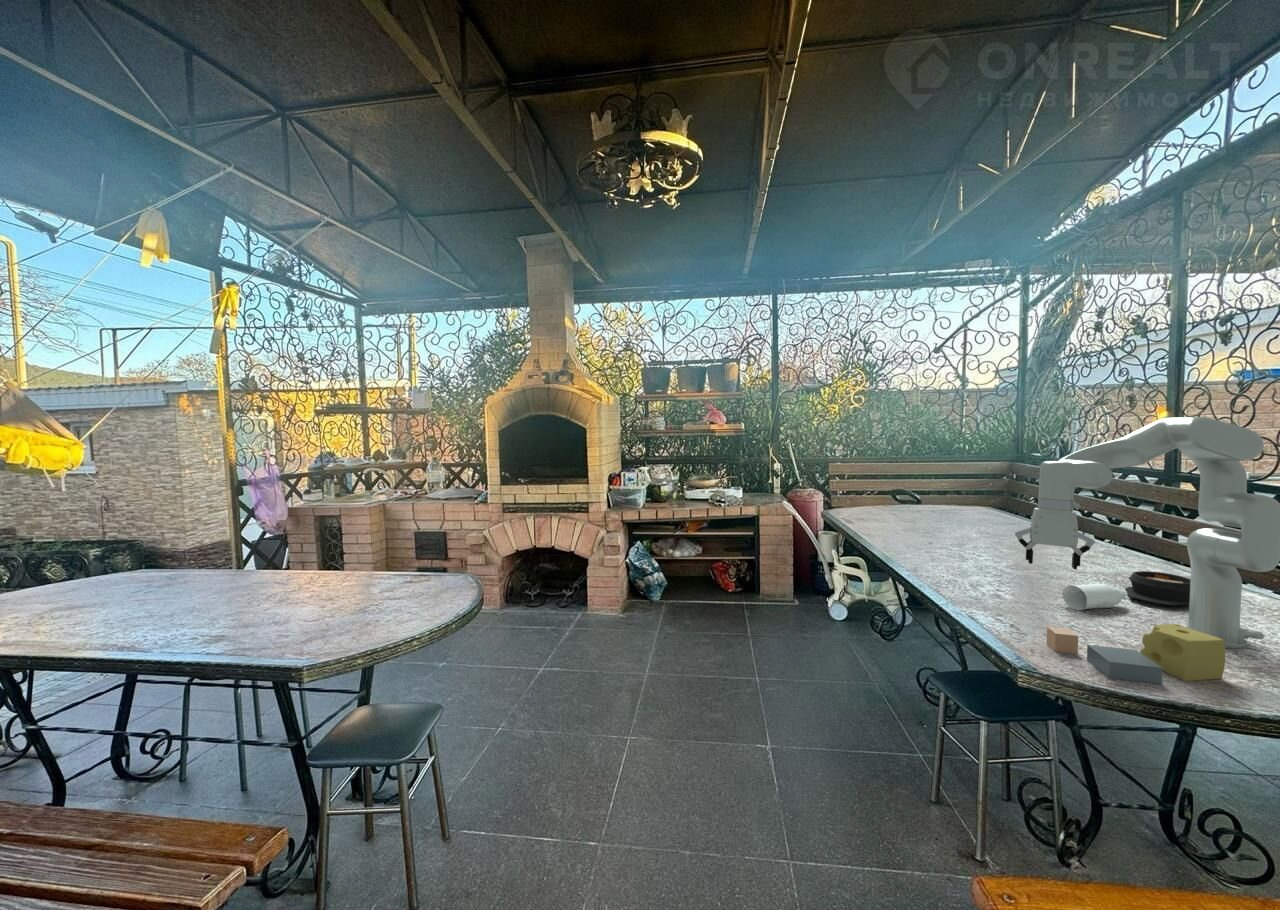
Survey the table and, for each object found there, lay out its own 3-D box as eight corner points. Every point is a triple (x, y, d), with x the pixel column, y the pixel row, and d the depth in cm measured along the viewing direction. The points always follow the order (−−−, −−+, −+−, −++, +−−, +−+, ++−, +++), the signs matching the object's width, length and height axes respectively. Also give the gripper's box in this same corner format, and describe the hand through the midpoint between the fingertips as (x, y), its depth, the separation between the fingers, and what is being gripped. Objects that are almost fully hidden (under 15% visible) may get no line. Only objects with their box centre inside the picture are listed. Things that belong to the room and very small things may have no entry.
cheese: (1138, 662, 128) (1140, 624, 128) (1176, 660, 129) (1178, 622, 129) (1186, 682, 118) (1188, 641, 117) (1227, 680, 119) (1229, 639, 118)
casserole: (1140, 587, 188) (1141, 565, 187) (1213, 602, 171) (1214, 578, 171) (1111, 598, 176) (1112, 575, 176) (1186, 615, 160) (1187, 589, 159)
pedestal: (1135, 665, 126) (1136, 649, 126) (1161, 684, 117) (1162, 667, 117) (1086, 659, 130) (1087, 644, 129) (1108, 677, 120) (1109, 661, 120)
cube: (1068, 646, 138) (1069, 628, 138) (1077, 654, 133) (1078, 635, 133) (1046, 644, 139) (1047, 626, 139) (1054, 651, 135) (1055, 633, 134)
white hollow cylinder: (1133, 610, 165) (1134, 586, 164) (1085, 613, 162) (1086, 589, 161) (1107, 602, 173) (1108, 579, 172) (1061, 605, 170) (1062, 582, 169)
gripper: (1093, 506, 138) (1089, 567, 138) (1015, 501, 147) (1012, 558, 148) (1099, 509, 131) (1095, 573, 132) (1017, 503, 141) (1014, 563, 142)
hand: (1051, 565), depth 140 cm, fingers open, 9 cm apart
